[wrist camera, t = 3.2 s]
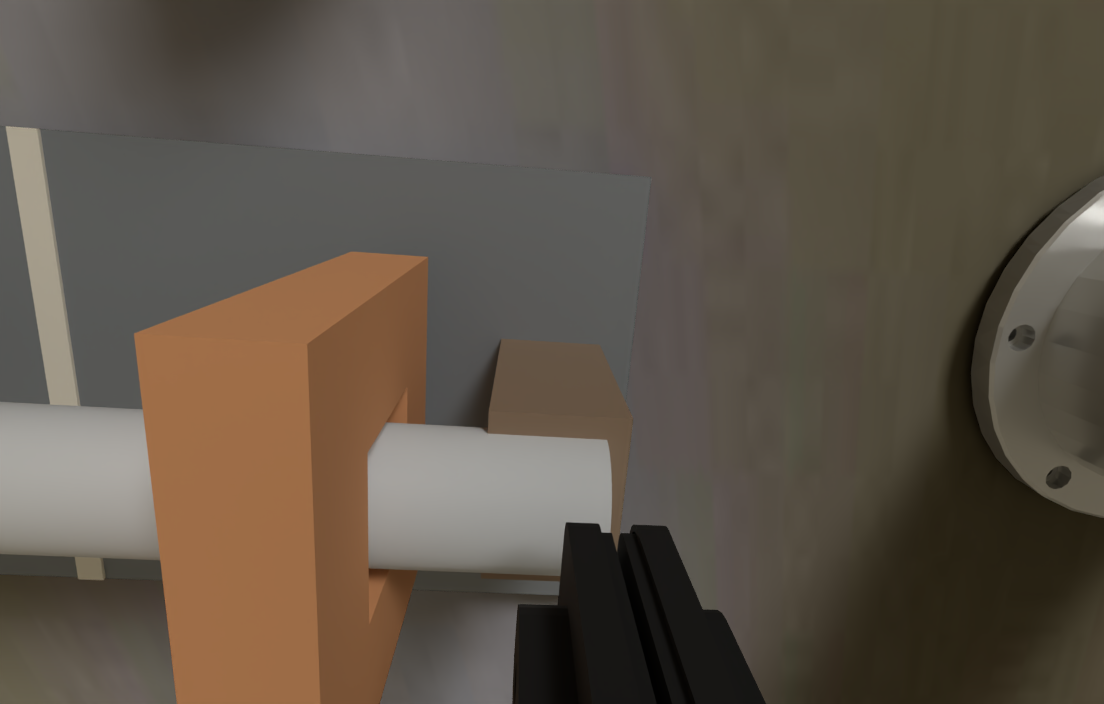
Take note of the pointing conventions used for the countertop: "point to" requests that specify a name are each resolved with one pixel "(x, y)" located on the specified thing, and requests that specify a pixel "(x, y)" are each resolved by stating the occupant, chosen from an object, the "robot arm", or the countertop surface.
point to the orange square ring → (282, 479)
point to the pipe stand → (283, 249)
